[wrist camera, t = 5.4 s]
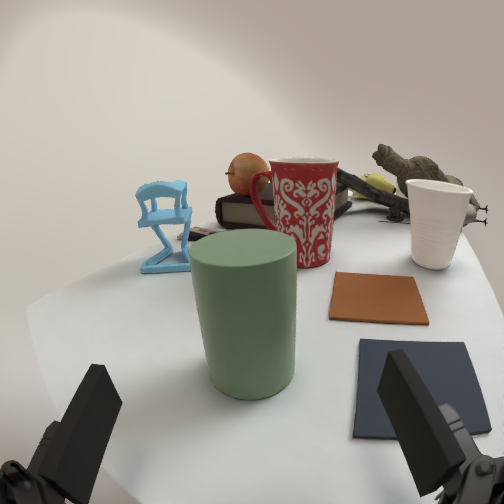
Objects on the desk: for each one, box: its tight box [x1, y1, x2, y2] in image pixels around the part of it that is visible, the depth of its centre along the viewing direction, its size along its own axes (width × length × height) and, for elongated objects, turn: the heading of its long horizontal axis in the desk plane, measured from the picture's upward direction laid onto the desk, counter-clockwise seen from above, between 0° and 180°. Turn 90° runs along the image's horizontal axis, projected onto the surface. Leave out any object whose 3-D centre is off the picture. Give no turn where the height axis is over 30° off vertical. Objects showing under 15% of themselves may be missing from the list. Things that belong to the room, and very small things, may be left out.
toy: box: [348, 173, 396, 199], centre depth 75 cm, size 13×7×15 cm
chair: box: [135, 180, 192, 273], centre depth 40 cm, size 8×8×12 cm
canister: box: [189, 229, 297, 400], centre depth 19 cm, size 6×6×10 cm
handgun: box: [336, 168, 410, 215], centre depth 59 cm, size 3×19×12 cm
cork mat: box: [329, 272, 429, 325], centre depth 30 cm, size 10×10×1 cm
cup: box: [405, 179, 473, 270], centre depth 35 cm, size 10×10×11 cm
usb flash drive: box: [177, 227, 219, 240], centre depth 52 cm, size 9×5×1 cm, turn 76°
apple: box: [225, 153, 269, 196], centre depth 52 cm, size 8×8×8 cm
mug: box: [250, 158, 339, 268], centre depth 40 cm, size 13×9×14 cm
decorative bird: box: [462, 203, 488, 227], centre depth 51 cm, size 5×16×7 cm
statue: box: [372, 144, 480, 212], centre depth 56 cm, size 11×9×30 cm
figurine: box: [379, 200, 410, 224], centre depth 56 cm, size 5×8×4 cm
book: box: [215, 181, 352, 230], centre depth 62 cm, size 28×20×6 cm
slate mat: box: [353, 339, 492, 439], centre depth 17 cm, size 10×10×1 cm
